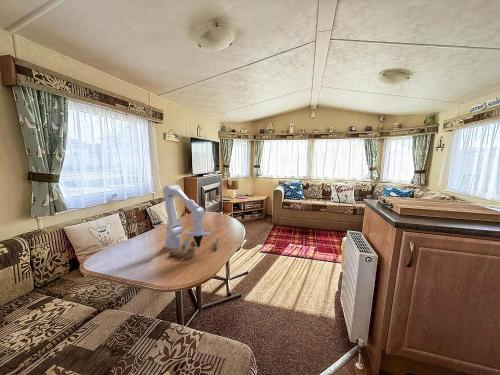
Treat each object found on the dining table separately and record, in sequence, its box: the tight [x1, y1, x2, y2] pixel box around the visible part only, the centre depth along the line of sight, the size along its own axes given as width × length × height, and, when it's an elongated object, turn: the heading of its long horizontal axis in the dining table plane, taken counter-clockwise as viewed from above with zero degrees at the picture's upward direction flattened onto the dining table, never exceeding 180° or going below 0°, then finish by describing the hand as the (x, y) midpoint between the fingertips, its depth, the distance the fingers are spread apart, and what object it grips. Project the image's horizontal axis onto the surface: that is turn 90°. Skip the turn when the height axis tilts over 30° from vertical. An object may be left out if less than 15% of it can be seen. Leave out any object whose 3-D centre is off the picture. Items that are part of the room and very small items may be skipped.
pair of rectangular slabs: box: [182, 237, 220, 252], centre depth 141 cm, size 22×12×4 cm, turn 93°
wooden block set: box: [168, 240, 197, 260], centre depth 128 cm, size 18×9×10 cm
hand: (198, 246), depth 131 cm, fingers closed
